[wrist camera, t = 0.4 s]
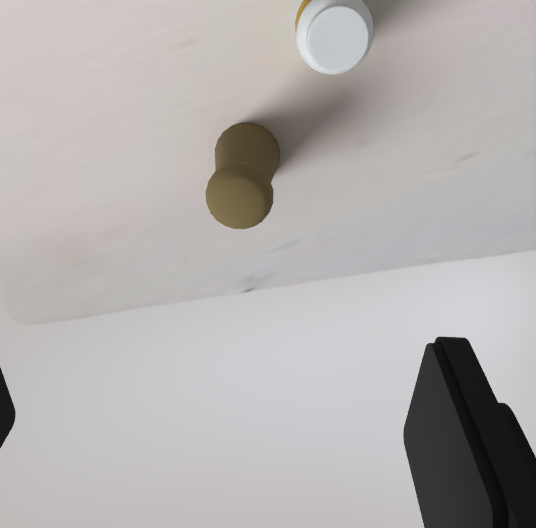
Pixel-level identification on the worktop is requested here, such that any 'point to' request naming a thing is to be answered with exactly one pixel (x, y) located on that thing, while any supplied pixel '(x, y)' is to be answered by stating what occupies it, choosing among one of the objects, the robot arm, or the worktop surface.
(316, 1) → the supplement bottle
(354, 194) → the worktop surface
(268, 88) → the worktop surface
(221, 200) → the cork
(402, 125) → the worktop surface
